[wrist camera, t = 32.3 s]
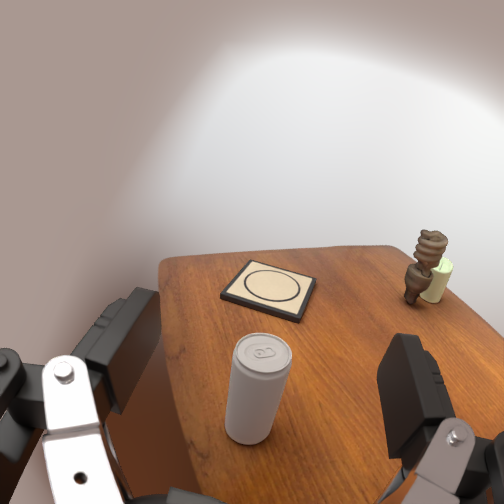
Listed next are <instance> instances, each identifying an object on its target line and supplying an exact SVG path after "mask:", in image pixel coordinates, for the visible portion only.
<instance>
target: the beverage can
mask: <svg viewBox="0 0 504 504" xmlns="http://www.w3.org/2000/svg"><path fill="white" fill-rule="evenodd" d="M291 358H292V352H291V349H290V347H289V346H288V345H287V343H286V342H285V341H283V340H282V339H281V338H279V337H277V336H274V335H271V334H267V333H253V334H249V335H246V336H244V337H242V338H241V339H240V340H239V341H238V343H237V344H236V348H235V350H234V352H233V358H232V366H231V375H230V383H229V391H228V400H227V408H226V417H225V430H226V432H227V434H228V435H229V436H230V437H231V438H232V439H233V440H235V441H236V442H238V443H241V444H247V445H251V444H256V443H259V442H261V441H262V440H264V439H265V438H266V437H267V436H268V435H269V433H270V430H271V427H272V424H273V421H274V418H275V415H276V412H277V409H278V406H279V403H280V400H281V397H282V394H283V391H284V387H285V384H286V381H287V378H288V374H289V371H290V368H291V364H292V359H291Z"/></svg>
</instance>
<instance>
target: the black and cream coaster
mask: <svg viewBox="0 0 504 504" xmlns="http://www.w3.org/2000/svg"><path fill="white" fill-rule="evenodd" d="M315 283H316V278H313V277H310V276H306V275H303V274H299V273H296V272H292V271H289V270H285V269H282V268H278V267H275V266H271V265H268V264H264V263H261V262H257V261H254V260H249V261H248V262H247V264H246V265H245V266H244V267H243V268H242V269H241V270H240V272H239V273H238V274H237V275H236V276H235V277H234V278H233V280H232V281H231V282H230V283H229V284H228V285H227V286H226V288H225V289H224V290H223V291H222V292H221V293H220V298H221V299H224V300H227V301H230V302H233V303H236V304H239V305H242V306H245V307H248V308H251V309H254V310H257V311H260V312H264V313H267V314H270V315H273V316H276V317H280V318H283V319H286V320H289V321H293V322H296V323H299V322H300V320H301V318H302V315H303V313H304V310H305V308H306V305H307V303H308V300H309V298H310V295H311V293H312V290H313V288H314V285H315Z"/></svg>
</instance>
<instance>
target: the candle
mask: <svg viewBox="0 0 504 504" xmlns="http://www.w3.org/2000/svg"><path fill="white" fill-rule="evenodd" d="M452 270H453V264H452V262H451V261H450V260H448V259H447V258H445V257H442V258H441V260H440V263H439V266H438V267H436V268H431V271H432V273H433V275H434V277H433V280H432V282H431V284H430V286H429V287H428V289H427V290H425V291H424V292H422V293H420V297H421V298H422V299H424V300H425V301H427V302H430V303H438V302H439V301H440V299H441V296H442V294H443V292H444V289H445V287H446V285H447V282H448V280H449V278H450V275H451V273H452Z"/></svg>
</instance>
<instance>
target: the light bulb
mask: <svg viewBox="0 0 504 504" xmlns="http://www.w3.org/2000/svg"><path fill="white" fill-rule="evenodd" d="M418 242H419V244H417V245H416V247H415V248H416V251H415V252H414V254H413V255H414V257H415V258H416V259H417V260H418V263H416V264H410V265H409V266H408V269H407V272H406V275H405V284H406V291H405V294H404V297H405V299H406V300H407V302H408V303H410V304H412V303H415V302H416V300H417V298H418V296H419V295H420V293H422V292H424V291H425V290H427V289H428V287H429V286H430V284H431V282H432V280H433V277H434V275H433V273H432V271H431V268H436V267H438V266H439V263H440V260H441V258H442V254H443V253H444V252H445V250H446V246H447V244H448V239H447V237H446V236H444V235H443V234H442V233H441V232H439V231H432V232H430V231H428V230H421V236H420V237H419V238H418Z"/></svg>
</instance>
